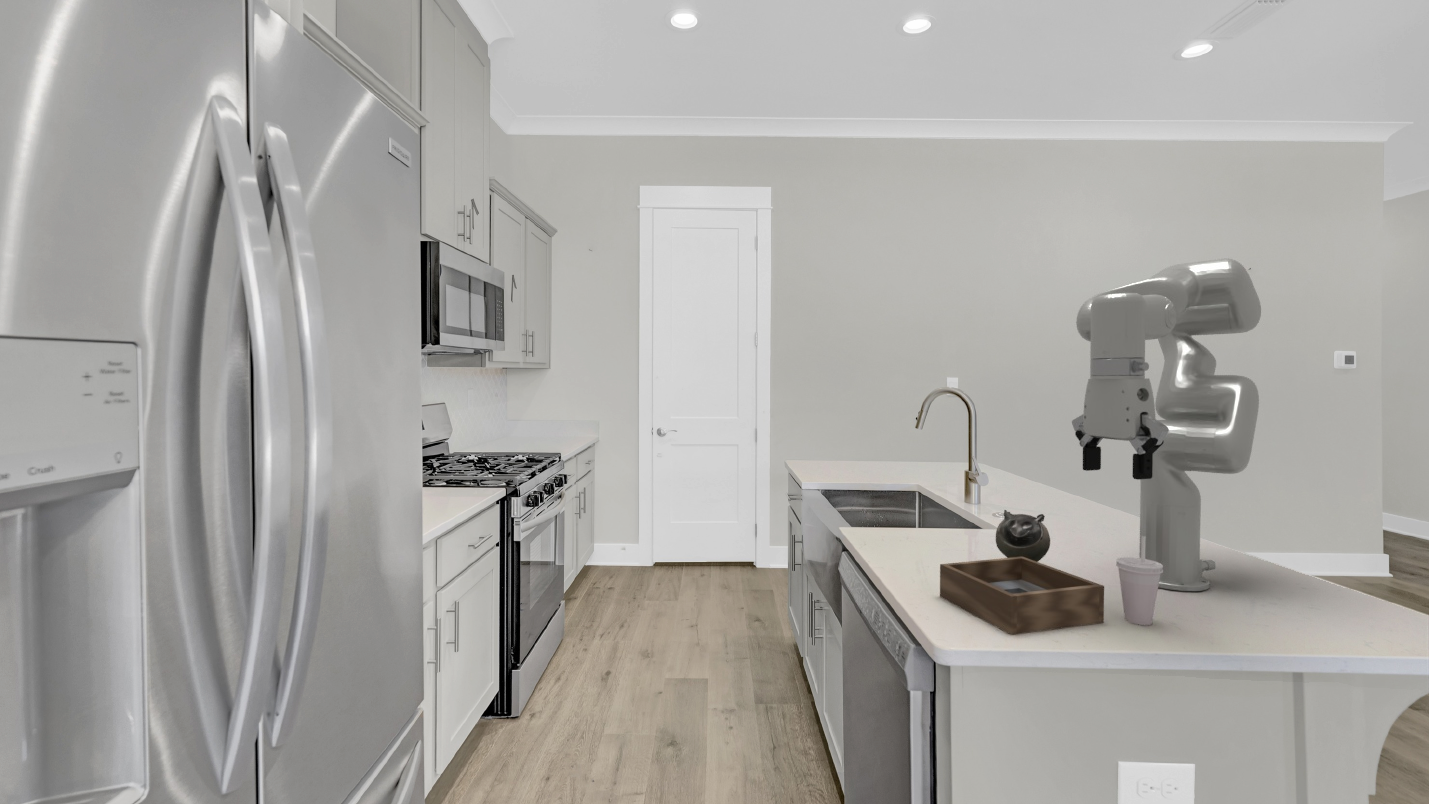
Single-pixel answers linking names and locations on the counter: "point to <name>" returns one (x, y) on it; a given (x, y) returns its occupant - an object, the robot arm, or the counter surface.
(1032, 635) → the counter surface
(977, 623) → the counter surface
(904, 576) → the counter surface
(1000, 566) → the wooden box
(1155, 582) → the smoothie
